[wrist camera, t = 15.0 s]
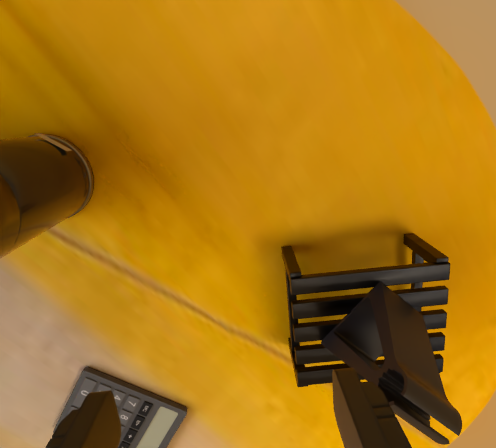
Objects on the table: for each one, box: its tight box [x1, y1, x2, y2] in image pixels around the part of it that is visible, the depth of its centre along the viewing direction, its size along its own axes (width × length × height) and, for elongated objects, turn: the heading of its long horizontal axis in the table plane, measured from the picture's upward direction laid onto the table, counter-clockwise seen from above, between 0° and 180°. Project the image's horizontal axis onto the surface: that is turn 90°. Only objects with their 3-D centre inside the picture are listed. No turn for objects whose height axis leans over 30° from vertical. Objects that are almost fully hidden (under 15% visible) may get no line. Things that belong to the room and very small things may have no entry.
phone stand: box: [321, 282, 462, 444], centre depth 32 cm, size 9×6×12 cm, turn 141°
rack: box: [281, 233, 450, 387], centre depth 42 cm, size 16×14×8 cm
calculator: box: [53, 367, 187, 448], centre depth 50 cm, size 12×1×15 cm
